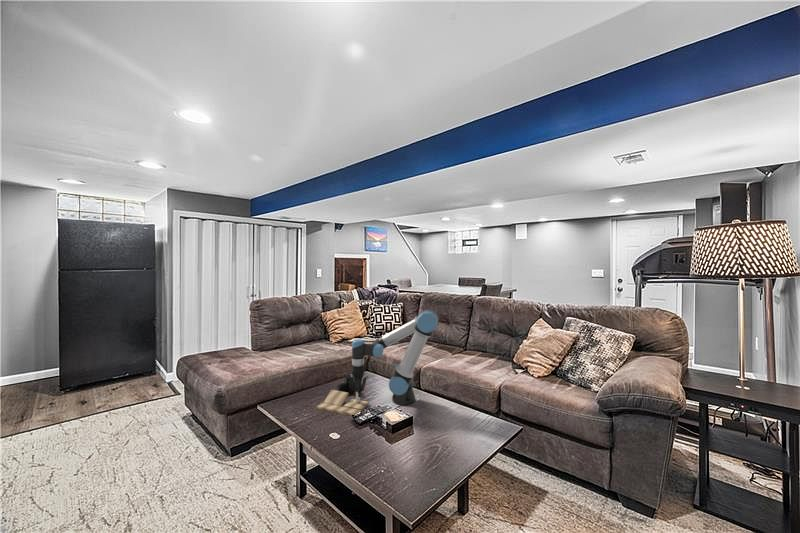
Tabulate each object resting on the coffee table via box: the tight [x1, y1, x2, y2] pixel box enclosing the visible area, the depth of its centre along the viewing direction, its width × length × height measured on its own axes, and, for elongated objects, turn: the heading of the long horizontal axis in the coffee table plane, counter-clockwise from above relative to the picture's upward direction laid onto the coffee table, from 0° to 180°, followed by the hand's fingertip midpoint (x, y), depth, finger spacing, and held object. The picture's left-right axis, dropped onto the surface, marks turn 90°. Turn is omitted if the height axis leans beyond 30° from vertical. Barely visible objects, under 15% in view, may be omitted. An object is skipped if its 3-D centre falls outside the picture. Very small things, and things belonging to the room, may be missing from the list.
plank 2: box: [343, 398, 370, 411], centre depth 209 cm, size 13×10×1 cm
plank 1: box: [323, 389, 350, 406], centre depth 213 cm, size 13×10×1 cm
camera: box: [336, 375, 355, 396], centre depth 232 cm, size 14×11×10 cm
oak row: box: [316, 401, 363, 417], centre depth 203 cm, size 28×6×2 cm, turn 68°
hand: (357, 401), depth 211 cm, fingers closed
